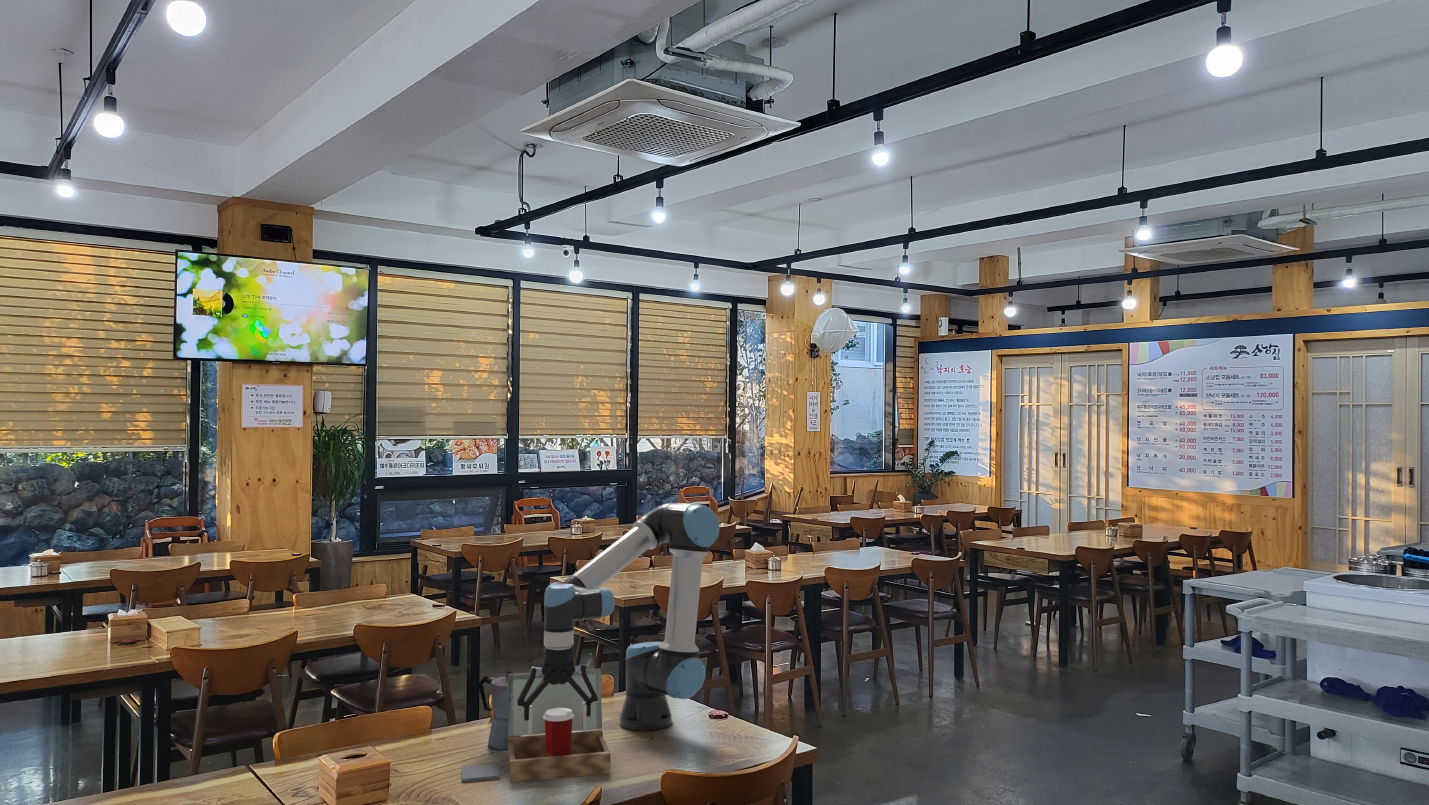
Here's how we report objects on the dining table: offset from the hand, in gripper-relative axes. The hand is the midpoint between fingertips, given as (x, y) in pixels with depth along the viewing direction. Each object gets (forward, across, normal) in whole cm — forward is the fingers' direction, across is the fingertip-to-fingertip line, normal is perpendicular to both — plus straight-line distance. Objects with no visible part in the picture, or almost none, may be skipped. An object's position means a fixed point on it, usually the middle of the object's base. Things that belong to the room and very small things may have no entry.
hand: (557, 731), depth 234 cm
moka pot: (+9, +13, -21) cm, 26 cm away
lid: (-5, 0, -9) cm, 11 cm away
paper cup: (+9, 0, 0) cm, 9 cm away
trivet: (+9, +19, 0) cm, 21 cm away
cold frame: (+9, 0, 0) cm, 9 cm away
